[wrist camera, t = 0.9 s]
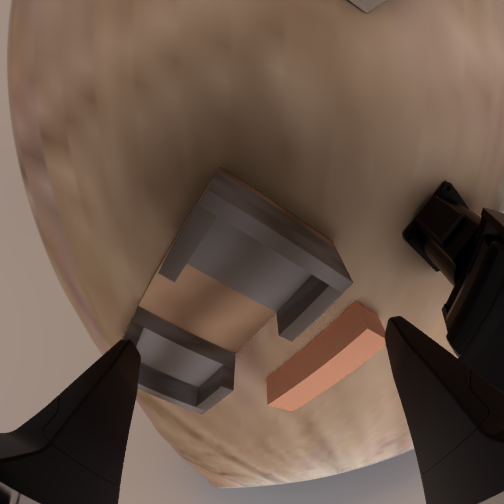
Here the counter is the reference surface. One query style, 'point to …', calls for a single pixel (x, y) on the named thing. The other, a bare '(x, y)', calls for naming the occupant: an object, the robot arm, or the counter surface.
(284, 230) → the bracket stand
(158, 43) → the counter surface
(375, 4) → the supplement box
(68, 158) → the counter surface
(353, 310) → the rail
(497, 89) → the counter surface
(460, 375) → the robot arm
